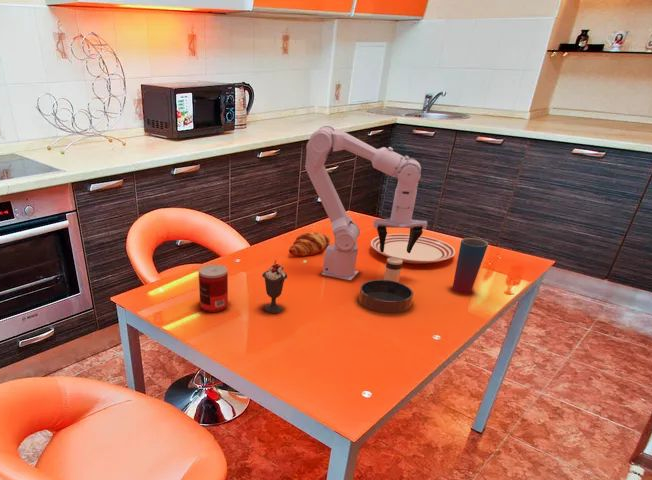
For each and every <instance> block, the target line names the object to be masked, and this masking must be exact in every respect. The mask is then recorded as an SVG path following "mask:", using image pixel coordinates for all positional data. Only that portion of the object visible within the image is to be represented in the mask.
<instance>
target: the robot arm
mask: <svg viewBox="0 0 652 480" xmlns="http://www.w3.org/2000/svg"><path fill="white" fill-rule="evenodd" d="M305 148H306V153H305V154H306V156H305V165H304V166H305V171H306V173H307V175H308V178H309V179H310V181H311V183H312V186H313V188H314V190H315V192H316V194H317V196H318V198H319V200H320V202H321V204H322V207H323V208H324V211H325V213H326V215H327V217H328V219H329V221H330V224H331V230H332V234H333V236H334V244H328V245H327V246H326V248H325V252H324V256H323V266H322V267H323V268H322V272H321V275H322V276H325V277H334V278H338V279H342V280H346V281H352V280H353V279H354V277H356V275H357V274H358V273H359V270H357V269H356V265H357V259H358V257H357V256H358V251H359V245H358V244H357V240H358V238H359V237H360V235H361V231H360V227H359V226H358V224H356V223H355V222H354V221H353V219H352V217H351V216H350V215H349V214H348V213H347V211H346V209H345V207H344V205H343V203H342V200H341V199H340V196H339V194H338V192H337V190H336V188H335V185H334V184H333V182H332V179H331V177H330V175H329V173H328V171H327V167H326V166H325V164H326V161H327V158H328V156H329V153H330V152H331V150H332V152H339V151H343V150H344V151H347V152H350V153H352V154H354V155H357V156H359V157H361V158H364V159H365V160H368V161H370V162H371V165H372V168H374V169H375V170H377V171H379V172H382V173H384V174H386V175H388V176H390V177H392V178H396V179H397V185H396V188H395V189H394V190H395V191H394V196H393V202H392V208H391V213H390V218H381V219H380V218H378V219H375V218H374V219H373V224H372V226H373V228H374V229H376V231H377V234H378V235H377V236H379V239H380V251H381V252H384V245H385V239H386V235H387V234H388V231H387V229H389V228H391V229H393V228H395V229H409V234H410V235H409V241H408V245H407V252H408V253H410V252H411V250H412V248H413V246H414V244H415V242H416V241H417V240H418V238H419V237H420V236H423V232H424V231H423V230H427V228H428V221H427V220H423V219H422V220H420V219H413V213H414V210H415V205H416V200H417V195H418V194H417V193H418V186H419V181H420V179H421V177H422V166H421V164H420V162H418V160H416V159H415V158H412V157H411V158H410V156H409V155H405V156H404V155H402V154H400V153H398V152H395V151H393V150H394V148H392V147H391V146H389V147H388V148H387V147H385V146H382V147H380V148H375V147H374V146H372V145H370V144H368V143H366V142H365V141H362V140H360V139H358V138H357V137H355V136H353V135H351V134H349V133H348V132H345V131H343V130H341V129H339V128H334V127H332V126H330V125H324V126H321V127H319V129H317V130H316V131H314V132H313V133H312V134H311V135H310V137H309V140H308V141H307V143H306V145H305Z"/></svg>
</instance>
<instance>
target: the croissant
mask: <svg viewBox="0 0 652 480" xmlns="http://www.w3.org/2000/svg"><path fill="white" fill-rule="evenodd" d="M330 242H331V236H327V235H326V234H321V233H319V232H309V231H307V232H303V233H300V234H299V235H297V236H296V239H295V241H294V242H293V243H292V245H291V246H290V247H289V249H288V253H289V254H290V255H293V256H300V257H305V256H312V255H315V254H318V253H321V252H322V251H324V250H325V249H326V248H327V247H328V245H329V244H330Z"/></svg>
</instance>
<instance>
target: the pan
mask: <svg viewBox="0 0 652 480" xmlns="http://www.w3.org/2000/svg"><path fill="white" fill-rule="evenodd" d="M413 299H414V290H413V289H411V288H410V287H409V286H408V285H406V284H404V283H402V282H400V281H399V282H395V281H390V280H384V279H372V280H367V281H365V282H363V283H362V284H361V285H360V286H359V293H358V302H359V304H360V305H361V306H362V307H363V308H365V309H367V310H369V311H371V312H375V313H380V314H388V315H389V314H390V315H395V314H401V313H405V312H407V311H409V310H410V308H411V307H412V304H413V303H412V302H413Z"/></svg>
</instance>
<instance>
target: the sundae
mask: <svg viewBox="0 0 652 480" xmlns="http://www.w3.org/2000/svg"><path fill="white" fill-rule="evenodd" d="M261 276H262V278H264V284H265V292H266V294H267V296H268V297H269V298H270V299H271V300H270V304H267V305H265V306H264V308H263V309H264V310H265V312H267V313H269V314H278V313H280V312H282V311H283V307H282V306H281V305H278V304H277V299H278V298H279V297H280V296H281V295H282V292H283V289H284V288H283V287H284V283H285V280H286V279H288V274H287V272H286V271H284V267H283V266H281V264H279V263H277V260H274V263H273V265H271V267H269V269H268V270H266V271H265V272H263V273H262V275H261Z"/></svg>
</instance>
